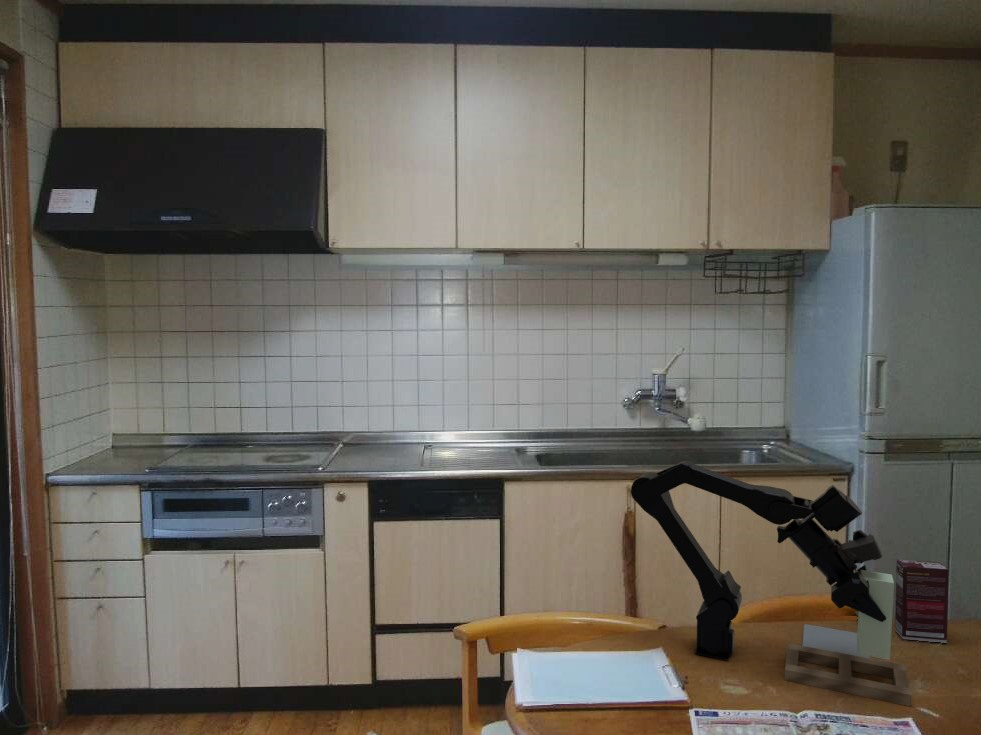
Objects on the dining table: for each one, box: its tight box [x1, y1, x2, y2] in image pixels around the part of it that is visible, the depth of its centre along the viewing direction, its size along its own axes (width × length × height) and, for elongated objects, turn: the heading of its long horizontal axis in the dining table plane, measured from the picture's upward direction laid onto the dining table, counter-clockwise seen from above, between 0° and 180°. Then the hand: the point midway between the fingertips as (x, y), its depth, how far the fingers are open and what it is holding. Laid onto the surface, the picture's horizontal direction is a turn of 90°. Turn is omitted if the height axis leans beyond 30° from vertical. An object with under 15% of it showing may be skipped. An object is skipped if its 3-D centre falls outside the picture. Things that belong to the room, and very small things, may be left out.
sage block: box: [856, 569, 895, 661], centre depth 126 cm, size 5×5×14 cm
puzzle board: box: [784, 642, 912, 707], centre depth 128 cm, size 20×12×2 cm, turn 64°
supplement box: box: [894, 559, 950, 644], centre depth 145 cm, size 9×5×16 cm, turn 77°
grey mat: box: [801, 623, 871, 659], centre depth 141 cm, size 12×12×1 cm
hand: (883, 614), depth 125 cm, fingers closed on sage block, 5 cm apart
